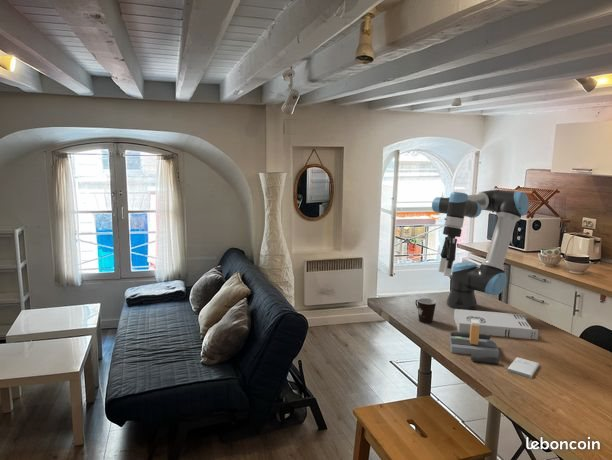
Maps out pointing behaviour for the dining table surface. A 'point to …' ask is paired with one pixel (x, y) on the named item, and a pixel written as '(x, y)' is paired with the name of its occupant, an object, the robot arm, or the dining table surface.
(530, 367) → the external hard drive
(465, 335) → the dark grey rounded rod
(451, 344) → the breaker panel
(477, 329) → the block
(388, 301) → the dining table surface
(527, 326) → the power supply unit
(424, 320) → the coffee mug
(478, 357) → the dark grey capsule rod
